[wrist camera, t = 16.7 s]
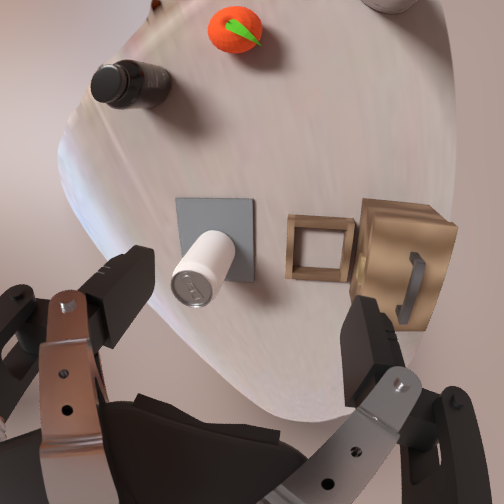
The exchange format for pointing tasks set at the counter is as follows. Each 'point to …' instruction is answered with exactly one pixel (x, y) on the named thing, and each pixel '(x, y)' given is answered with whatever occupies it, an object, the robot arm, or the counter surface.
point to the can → (203, 269)
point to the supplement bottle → (130, 85)
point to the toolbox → (387, 257)
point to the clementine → (235, 29)
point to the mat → (220, 229)
